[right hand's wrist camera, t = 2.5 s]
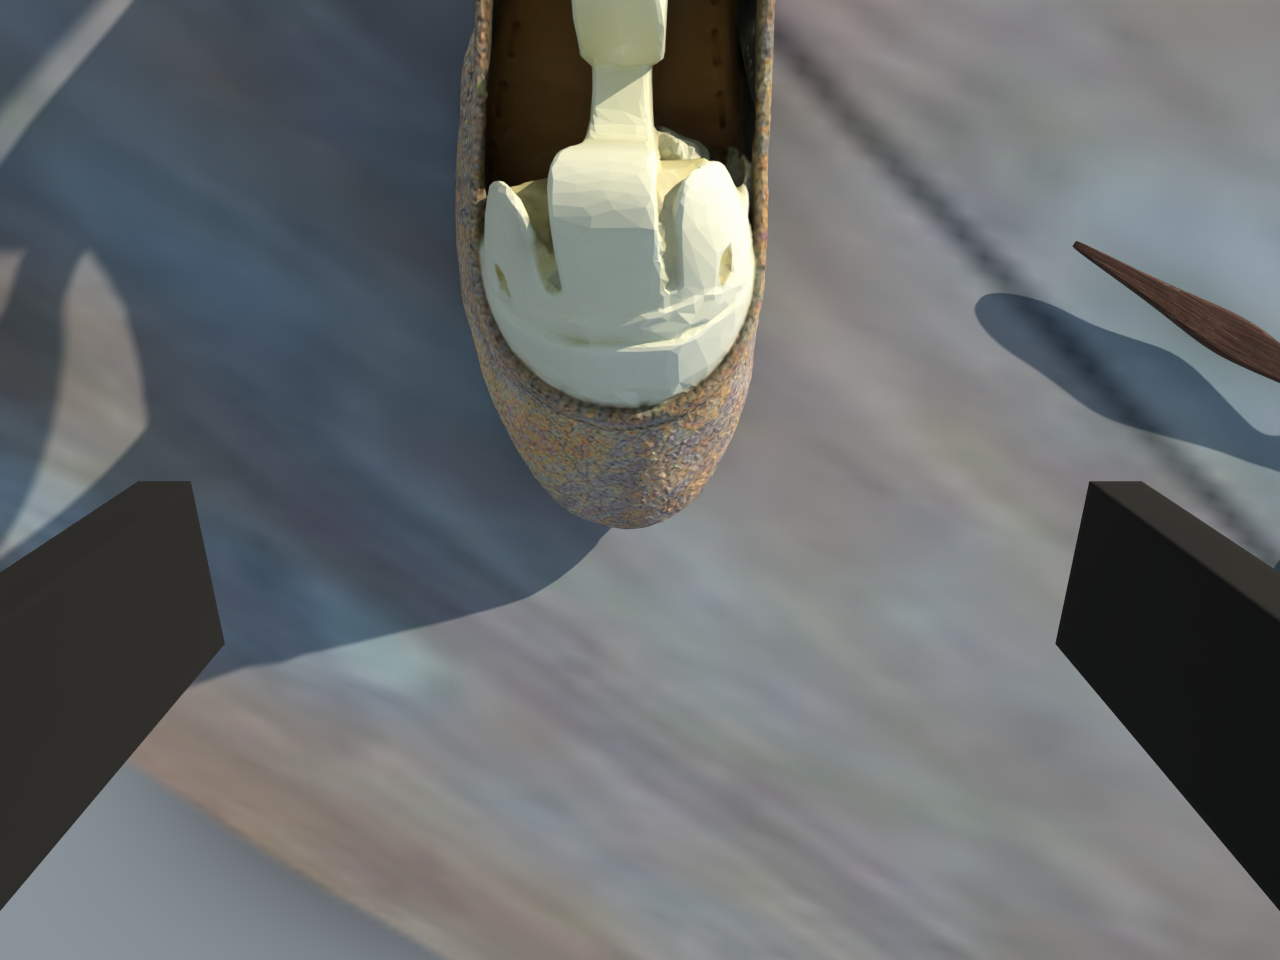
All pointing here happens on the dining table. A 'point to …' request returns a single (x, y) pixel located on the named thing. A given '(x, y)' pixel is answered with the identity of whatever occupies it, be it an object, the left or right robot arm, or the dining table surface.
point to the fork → (1198, 317)
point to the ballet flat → (616, 237)
